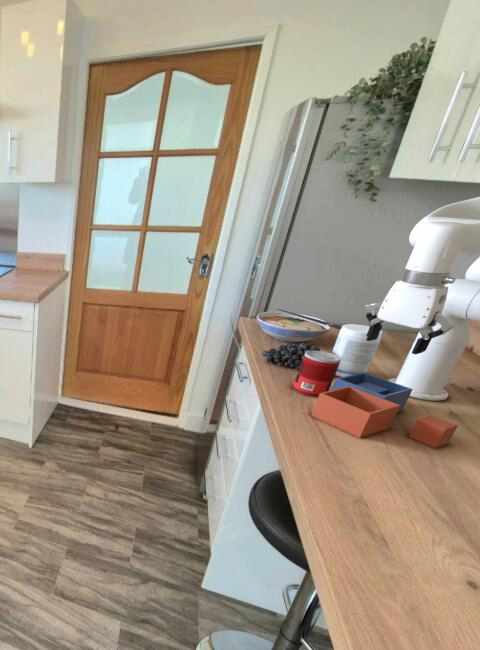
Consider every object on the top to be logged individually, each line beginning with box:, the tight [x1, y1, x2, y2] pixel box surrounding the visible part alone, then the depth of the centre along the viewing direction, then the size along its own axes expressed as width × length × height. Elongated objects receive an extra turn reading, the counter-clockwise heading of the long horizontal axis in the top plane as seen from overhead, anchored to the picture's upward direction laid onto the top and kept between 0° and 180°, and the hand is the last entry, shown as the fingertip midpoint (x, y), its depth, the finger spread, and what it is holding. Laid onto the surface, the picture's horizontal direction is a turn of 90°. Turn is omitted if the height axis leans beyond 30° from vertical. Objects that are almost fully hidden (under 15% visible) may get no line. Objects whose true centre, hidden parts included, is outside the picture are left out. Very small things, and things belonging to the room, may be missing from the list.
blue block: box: [357, 382, 389, 395], centre depth 114 cm, size 5×5×5 cm
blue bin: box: [331, 372, 413, 413], centre depth 114 cm, size 11×11×6 cm
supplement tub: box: [331, 323, 384, 378], centre depth 130 cm, size 10×10×15 cm
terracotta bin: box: [310, 386, 400, 439], centre depth 106 cm, size 11×11×6 cm
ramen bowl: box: [256, 308, 343, 344], centre depth 159 cm, size 25×23×8 cm
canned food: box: [293, 350, 341, 398], centre depth 120 cm, size 8×8×11 cm
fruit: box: [261, 342, 321, 371], centre depth 137 cm, size 9×8×15 cm
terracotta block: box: [408, 414, 459, 449], centre depth 99 cm, size 5×5×5 cm
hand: (393, 346), depth 107 cm, fingers open, 9 cm apart
